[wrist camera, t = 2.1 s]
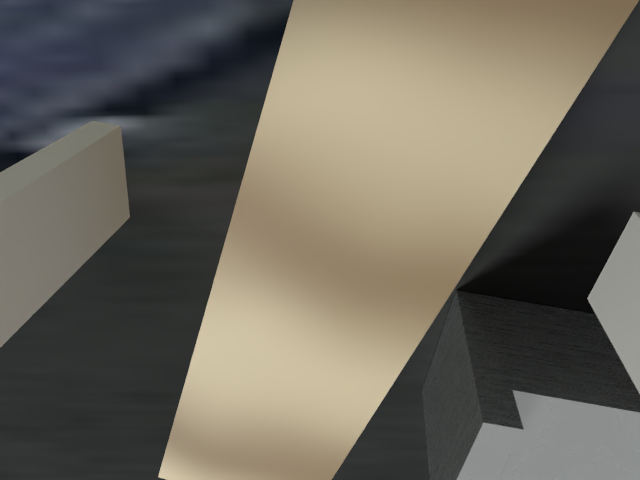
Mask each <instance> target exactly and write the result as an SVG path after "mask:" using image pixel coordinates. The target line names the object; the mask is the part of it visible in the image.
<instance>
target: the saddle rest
mask: <svg viewBox="0 0 640 480" xmlns="http://www.w3.org/2000/svg"><path fill="white" fill-rule="evenodd" d="M422 393H423V405H424V417H425V429H426V441H427V454H428V466H429V478H430V480H640V394H639V392H638V390H637V388H636V387H635V385H634V383H633V381H632V379H631V377H630V376H629V374H628V372H627V370H626V368H625V367H624V365H623V363H622V361H621V359H620V357H619V356H618V354H617V352H616V350H615V348H614V346H613V345H612V343H611V341H610V339H609V337H608V336H607V334H606V332H605V330H604V328H603V326H602V325H601V323H600V321H599V319H598V317H597V316H596V314H593V313H587V312H581V311H575V310H569V309H563V308H557V307H551V306H545V305H539V304H534V303H528V302H522V301H516V300H510V299H504V298H498V297H492V296H486V295H480V294H474V293H469V292H463V291H457V290H456V292H455V295H454V298H453V301H452V304H451V307H450V310H449V313H448V316H447V319H446V322H445V324H444V327H443V330H442V333H441V336H440V339H439V342H438V345H437V348H436V351H435V353H434V356H433V359H432V362H431V365H430V368H429V371H428V374H427V377H426V380H425V382H424V385H423V388H422Z"/></svg>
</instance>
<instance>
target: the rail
mask: <svg viewBox="0 0 640 480" xmlns="http://www.w3.org/2000/svg"><path fill="white" fill-rule="evenodd" d="M638 1H639V0H294V1H293V4H292V8H291V11H290V15H289V18H288V22H287V25H286V29H285V33H284V36H283V40H282V43H281V47H280V50H279V54H278V57H277V61H276V64H275V68H274V71H273V75H272V78H271V82H270V85H269V89H268V92H267V96H266V99H265V103H264V106H263V110H262V113H261V117H260V120H259V124H258V128H257V131H256V135H255V138H254V142H253V145H252V149H251V152H250V156H249V159H248V163H247V166H246V170H245V173H244V177H243V180H242V184H241V187H240V191H239V194H238V198H237V201H236V205H235V208H234V212H233V216H232V219H231V223H230V226H229V230H228V233H227V237H226V240H225V244H224V247H223V251H222V254H221V258H220V261H219V265H218V268H217V272H216V275H215V279H214V282H213V286H212V289H211V293H210V296H209V300H208V303H207V307H206V311H205V314H204V318H203V321H202V325H201V328H200V332H199V335H198V339H197V342H196V346H195V349H194V353H193V356H192V360H191V363H190V367H189V370H188V374H187V377H186V381H185V384H184V388H183V391H182V395H181V399H180V402H179V406H178V409H177V413H176V416H175V420H174V423H173V427H172V430H171V434H170V437H169V441H168V444H167V448H166V451H165V455H164V458H163V462H162V465H161V469H160V472H159V476H158V477H160V478H163V479H167V480H332V478H333V476H334V475H335V473H336V472H337V470H338V469H339V467H340V466H341V464H342V462H343V461H344V459H345V458H346V456H347V455H348V453H349V452H350V450H351V448H352V447H353V445H354V444H355V442H356V441H357V439H358V438H359V436H360V434H361V433H362V431H363V430H364V428H365V427H366V425H367V423H368V422H369V420H370V419H371V417H372V416H373V414H374V413H375V411H376V409H377V408H378V406H379V405H380V403H381V402H382V400H383V399H384V397H385V395H386V394H387V392H388V391H389V389H390V388H391V386H392V385H393V383H394V381H395V380H396V378H397V377H398V375H399V374H400V372H401V370H402V369H403V367H404V366H405V364H406V363H407V361H408V360H409V358H410V356H411V355H412V353H413V352H414V350H415V349H416V347H417V346H418V344H419V342H420V341H421V339H422V338H423V336H424V335H425V333H426V332H427V330H428V328H429V327H430V325H431V324H432V322H433V321H434V319H435V317H436V316H437V314H438V313H439V311H440V310H441V308H442V307H443V305H444V303H445V302H446V300H447V299H448V297H449V296H450V294H451V293H452V291H453V289H454V288H455V286H456V285H457V283H458V282H459V280H460V279H461V277H462V275H463V274H464V272H465V271H466V269H467V268H468V266H469V264H470V263H471V261H472V260H473V258H474V257H475V255H476V254H477V252H478V250H479V249H480V247H481V246H482V244H483V243H484V241H485V240H486V238H487V236H488V235H489V233H490V232H491V230H492V229H493V227H494V226H495V224H496V222H497V221H498V219H499V218H500V216H501V215H502V213H503V211H504V210H505V208H506V207H507V205H508V204H509V202H510V201H511V199H512V197H513V196H514V194H515V193H516V191H517V190H518V188H519V187H520V185H521V183H522V182H523V180H524V179H525V177H526V176H527V174H528V173H529V171H530V169H531V168H532V166H533V165H534V163H535V162H536V160H537V158H538V157H539V155H540V154H541V152H542V151H543V149H544V148H545V146H546V144H547V143H548V141H549V140H550V138H551V137H552V135H553V134H554V132H555V130H556V129H557V127H558V126H559V124H560V123H561V121H562V120H563V118H564V116H565V115H566V113H567V112H568V110H569V109H570V107H571V105H572V104H573V102H574V101H575V99H576V98H577V96H578V95H579V93H580V91H581V90H582V88H583V87H584V85H585V84H586V82H587V81H588V79H589V77H590V76H591V74H592V73H593V71H594V70H595V68H596V67H597V65H598V63H599V62H600V60H601V59H602V57H603V56H604V54H605V52H606V51H607V49H608V48H609V46H610V45H611V43H612V42H613V40H614V38H615V37H616V35H617V34H618V32H619V31H620V29H621V28H622V26H623V24H624V23H625V21H626V20H627V18H628V17H629V15H630V14H631V12H632V10H633V9H634V7H635V6H636V4H637V3H638Z"/></svg>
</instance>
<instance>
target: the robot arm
mask: <svg viewBox="0 0 640 480" xmlns="http://www.w3.org/2000/svg"><path fill="white" fill-rule="evenodd" d="M129 218H130V214H129V204H128V194H127V184H126V174H125V164H124V154H123V144H122V134H121V125H115V124H109V123H103V122H97V121H91V122H89V123H87V124H86V125H84V126H82V127H80V128H79V129H77V130H75V131H73V132H71V133H70V134H68V135H66V136H64V137H63V138H61V139H59V140H57V141H55V142H54V143H52V144H50V145H48V146H47V147H45V148H43V149H41V150H39V151H38V152H36V153H34V154H32V155H31V156H29V157H27V158H25V159H23V160H22V161H20V162H18V163H16V164H15V165H13V166H11V167H9V168H7V169H6V170H4V171H2V172H0V347H1V346H2V345H3V344H4V343H5V342H6V341H7V340H8V339H9V338H10V337H11V336H12V335H13V334H14V333H15V332H16V331H17V330H18V329H19V328H20V327H21V326H22V325H23V324H24V323H25V322H26V321H27V320H28V319H29V318H30V317H31V316H32V315H33V314H34V313H35V312H36V311H37V310H38V309H39V308H40V307H41V306H42V305H43V304H44V303H45V302H46V301H47V300H48V299H49V298H50V297H51V296H52V295H53V294H54V293H55V292H56V291H57V290H58V289H59V288H60V287H61V286H62V285H63V284H64V283H65V282H66V281H67V280H68V279H69V278H70V277H71V276H72V275H73V274H74V273H75V272H76V271H77V270H78V269H79V268H80V267H81V266H82V265H83V264H84V263H85V262H86V261H87V260H88V259H89V258H90V257H91V256H92V255H93V254H94V253H95V252H96V251H97V250H98V249H99V248H100V247H101V246H102V245H103V244H104V243H105V242H106V241H107V240H108V239H109V238H110V237H111V236H112V235H113V234H114V233H115V232H116V231H117V230H118V229H119V228H120V227H121V226H122V225H123V224H124V223H125V222H126V221H127V220H128V219H129ZM587 299H588V301H589V303H590V305H591V306H592V308H593V310H594V312H595V314H596V316H597V317H598V319H599V321H600V323H601V325H602V326H603V328H604V330H605V332H606V334H607V336H608V337H609V339H610V341H611V343H612V345H613V346H614V348H615V350H616V352H617V354H618V356H619V357H620V359H621V361H622V363H623V365H624V367H625V368H626V370H627V372H628V374H629V376H630V377H631V379H632V381H633V383H634V385H635V387H636V388H637V390H638V392H639V394H640V213H639V212H633V214H632V216H631V218H630V219H629V221H628V223H627V225H626V227H625V229H624V231H623V233H622V234H621V236H620V238H619V240H618V242H617V244H616V246H615V247H614V249H613V251H612V253H611V255H610V257H609V259H608V261H607V262H606V264H605V266H604V268H603V270H602V272H601V274H600V276H599V277H598V279H597V281H596V283H595V285H594V287H593V289H592V291H591V292H590V294H589V296H588V298H587Z"/></svg>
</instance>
